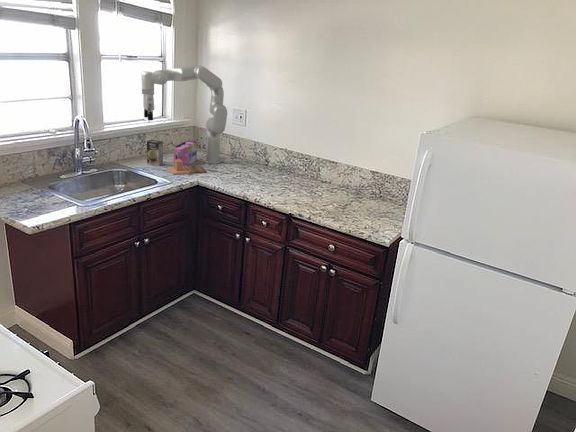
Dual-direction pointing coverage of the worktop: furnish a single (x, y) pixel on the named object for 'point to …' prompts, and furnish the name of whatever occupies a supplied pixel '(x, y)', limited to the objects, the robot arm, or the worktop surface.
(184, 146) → the gum box
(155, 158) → the coffee box
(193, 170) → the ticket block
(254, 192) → the worktop surface
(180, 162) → the stub
